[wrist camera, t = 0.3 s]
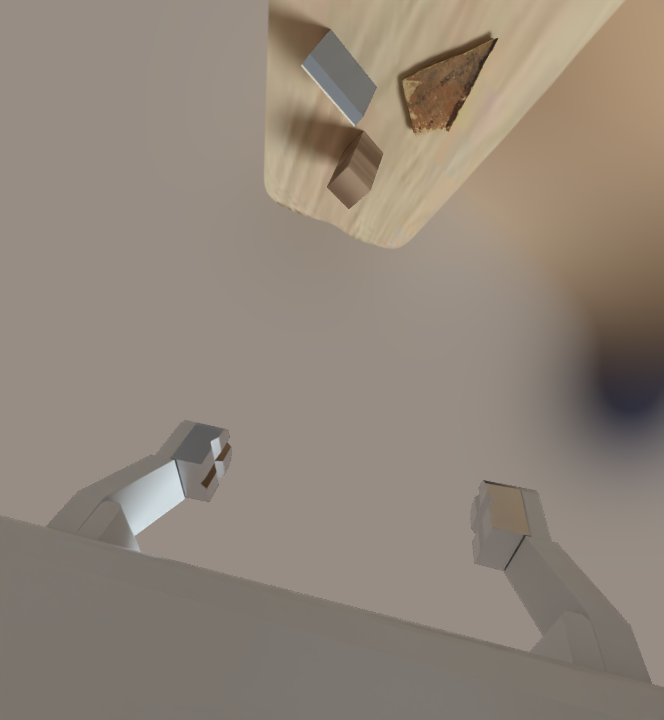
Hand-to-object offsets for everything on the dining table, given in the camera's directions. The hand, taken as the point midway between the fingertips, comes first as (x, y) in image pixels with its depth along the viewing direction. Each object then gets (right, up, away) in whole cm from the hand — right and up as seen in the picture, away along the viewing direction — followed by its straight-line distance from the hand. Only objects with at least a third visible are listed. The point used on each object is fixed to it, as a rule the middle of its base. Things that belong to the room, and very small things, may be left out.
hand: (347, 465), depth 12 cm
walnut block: (+4, +33, +43) cm, 54 cm away
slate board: (+2, +39, +35) cm, 53 cm away
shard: (+12, +37, +35) cm, 52 cm away
